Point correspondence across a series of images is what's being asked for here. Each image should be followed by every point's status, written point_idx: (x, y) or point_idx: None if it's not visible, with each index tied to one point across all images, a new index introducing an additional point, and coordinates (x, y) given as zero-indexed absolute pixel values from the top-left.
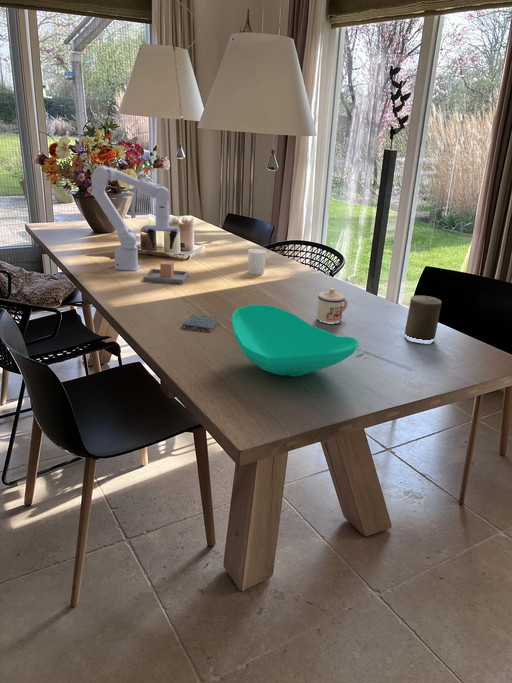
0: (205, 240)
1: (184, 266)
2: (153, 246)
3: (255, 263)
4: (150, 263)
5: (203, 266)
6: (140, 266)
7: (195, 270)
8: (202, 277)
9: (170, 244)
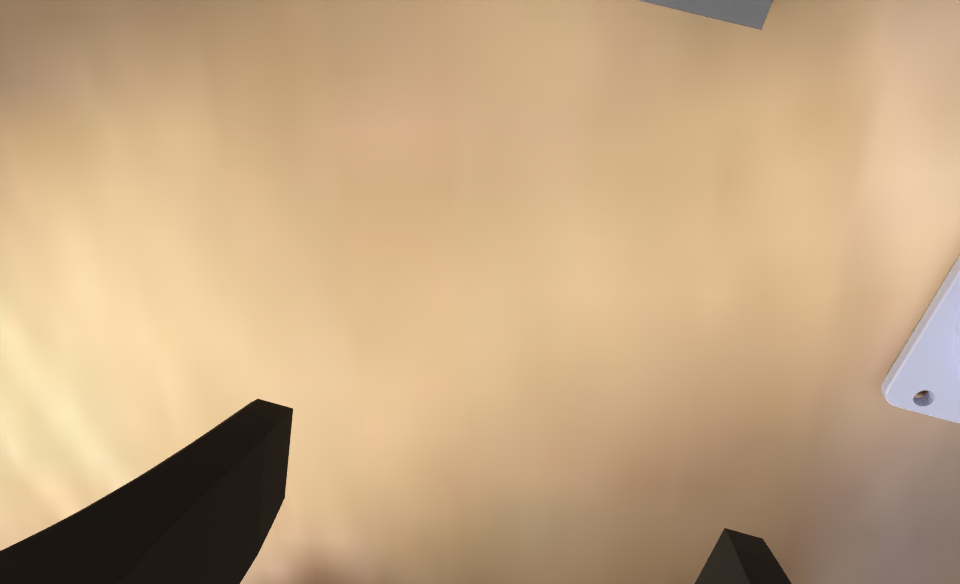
0: None
1: (252, 387)
2: (747, 554)
3: None
4: (699, 530)
5: (33, 380)
6: (889, 373)
7: (76, 198)
8: None
9: (208, 470)
